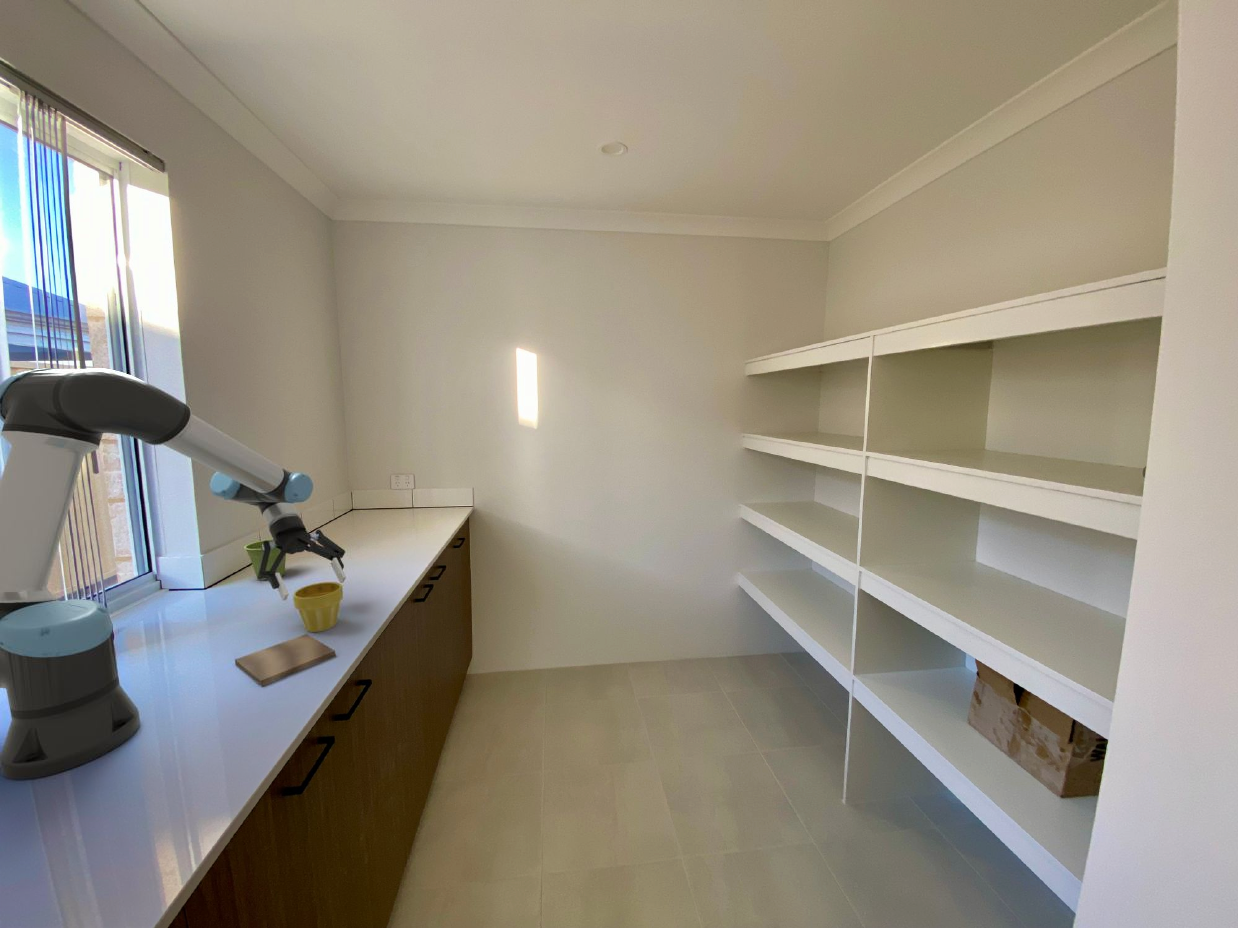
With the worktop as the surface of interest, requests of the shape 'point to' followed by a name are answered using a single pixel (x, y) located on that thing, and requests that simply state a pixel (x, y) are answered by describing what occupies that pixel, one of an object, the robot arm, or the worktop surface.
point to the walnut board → (284, 659)
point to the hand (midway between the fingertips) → (315, 588)
